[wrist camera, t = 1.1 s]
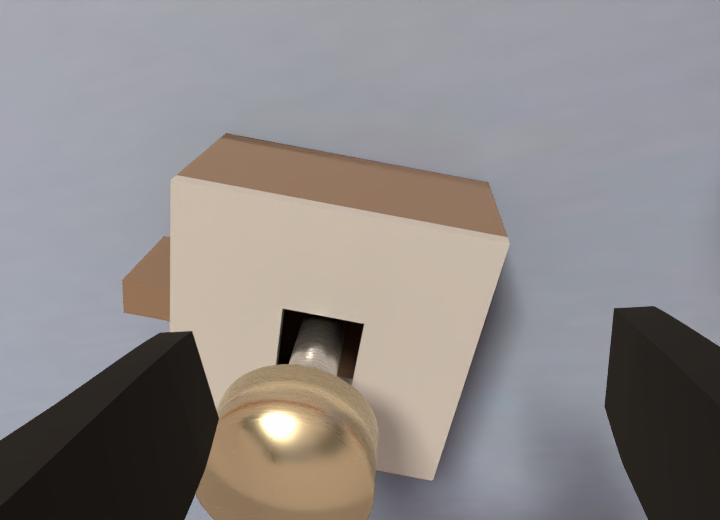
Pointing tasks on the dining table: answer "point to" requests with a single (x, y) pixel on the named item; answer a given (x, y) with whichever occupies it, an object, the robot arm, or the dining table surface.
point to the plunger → (294, 439)
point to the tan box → (331, 277)
